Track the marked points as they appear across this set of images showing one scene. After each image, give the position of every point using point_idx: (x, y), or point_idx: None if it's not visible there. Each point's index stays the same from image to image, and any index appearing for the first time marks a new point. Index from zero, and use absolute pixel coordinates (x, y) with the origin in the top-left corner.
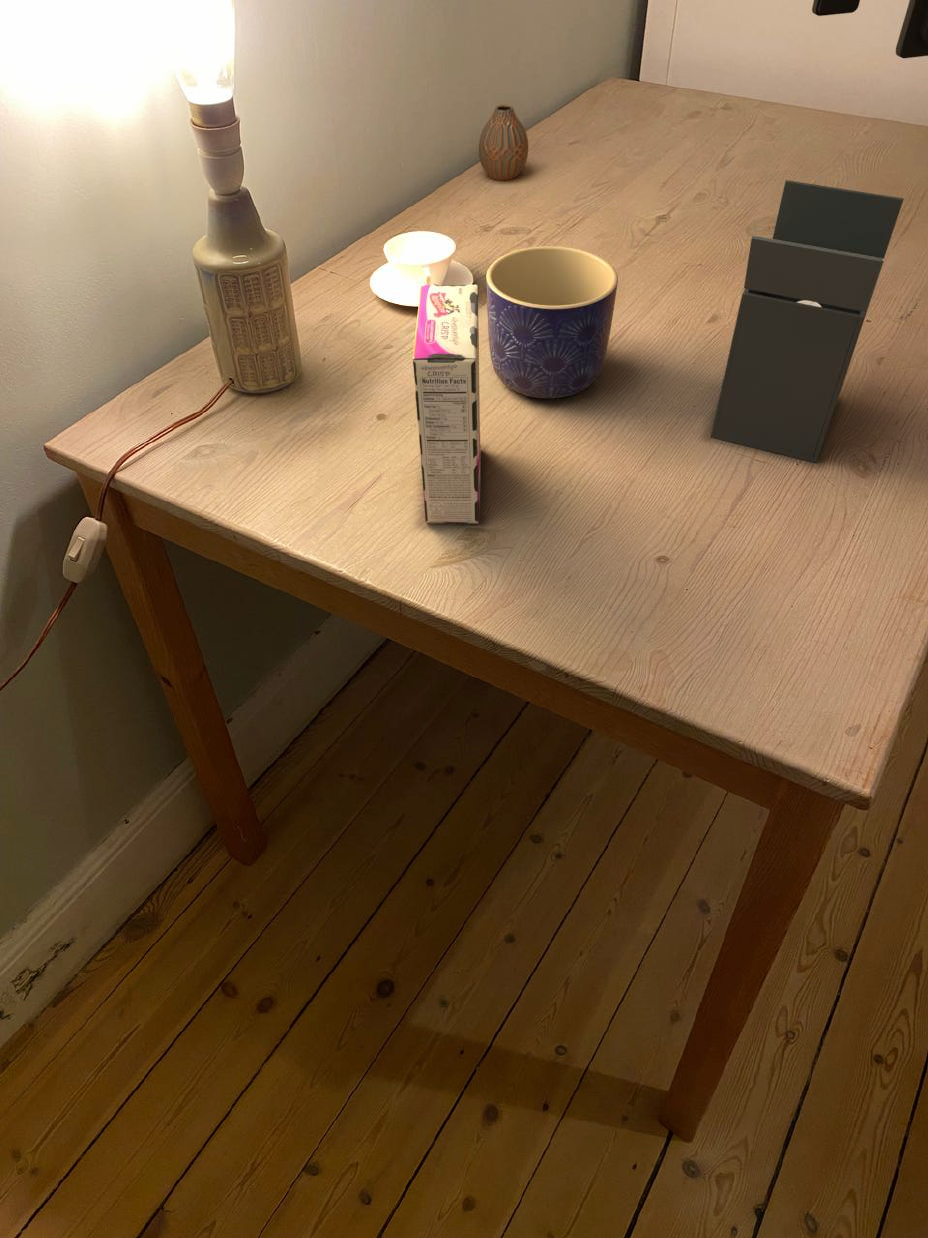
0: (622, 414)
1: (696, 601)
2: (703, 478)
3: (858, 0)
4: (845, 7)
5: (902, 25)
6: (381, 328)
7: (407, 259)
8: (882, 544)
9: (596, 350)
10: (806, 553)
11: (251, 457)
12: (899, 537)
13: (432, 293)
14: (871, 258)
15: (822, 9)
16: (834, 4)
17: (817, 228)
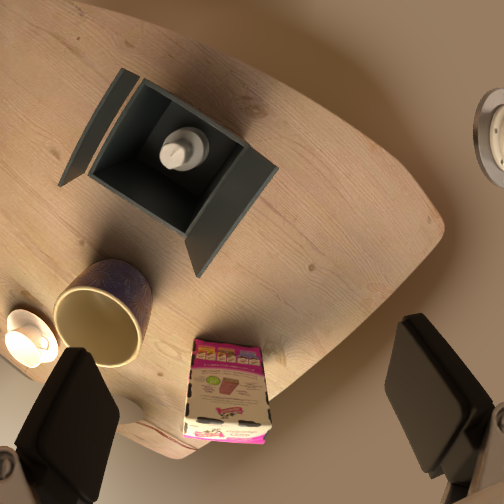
0: (165, 252)
1: (345, 259)
2: (245, 221)
3: (82, 363)
4: (96, 377)
5: (398, 418)
6: None
7: (20, 345)
8: (331, 136)
9: (137, 285)
10: (328, 186)
11: None
12: (328, 123)
13: (195, 435)
14: (272, 177)
15: (115, 414)
16: (107, 404)
17: (96, 139)
